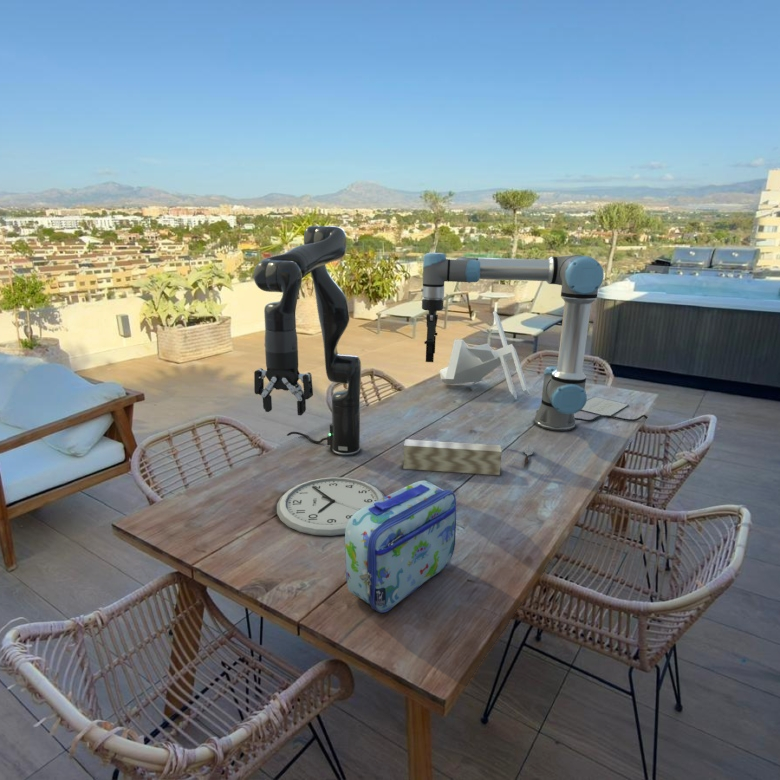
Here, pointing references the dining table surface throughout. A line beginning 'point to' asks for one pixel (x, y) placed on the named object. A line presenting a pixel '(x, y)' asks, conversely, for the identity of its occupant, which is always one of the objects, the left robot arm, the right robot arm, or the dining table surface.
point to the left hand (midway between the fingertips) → (284, 412)
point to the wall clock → (325, 504)
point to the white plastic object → (482, 362)
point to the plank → (452, 457)
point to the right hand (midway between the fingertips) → (430, 357)
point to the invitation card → (603, 406)
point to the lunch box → (399, 543)
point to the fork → (527, 454)
